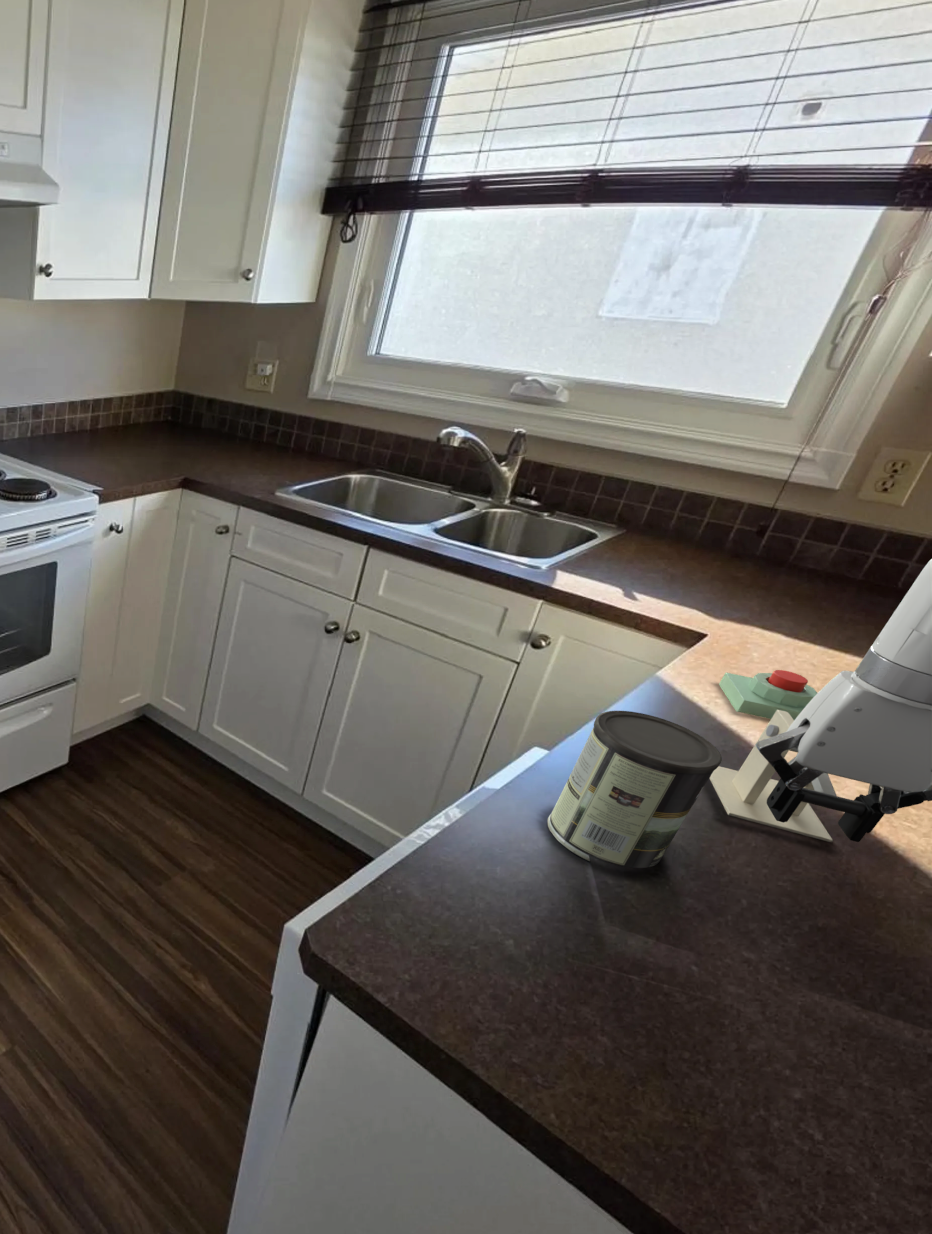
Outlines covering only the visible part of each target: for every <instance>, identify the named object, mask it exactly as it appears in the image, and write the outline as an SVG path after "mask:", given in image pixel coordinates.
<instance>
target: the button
mask: <svg viewBox="0 0 932 1234" xmlns="http://www.w3.org/2000/svg"><path fill="white" fill-rule="evenodd" d="M771 673H772V675H771V677H770V678H769V680H768V683H770V684H772V685H773V686H775V687H778V688H781V689H784V690H787V691H792V692H802V691H803V689H804V687H805V686H806V684H807V685H808V683H809V680H808V679H807V677H805V676H803V675H801V674H798V673H796V672H793V671H789V670H784V669H783V670H782V669H775V670H773V672H771Z"/></svg>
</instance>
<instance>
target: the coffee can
mask: <svg viewBox="0 0 932 1234" xmlns="http://www.w3.org/2000/svg"><path fill="white" fill-rule="evenodd" d="M722 760H723V757H722V754H721V752H720V751H719V749H717V747H716V746H715V745H714V744H712V742H710V741H709V740H707V739H706V738H704V737H703V736H701V734H698V733H697V732H694V731H693V730H691V729H689V728H687V727H685V726H682V725H680V724H678V723H675V722H672V721H671V720H667V719H666V718H665V719H664V718H661V717H658V716H654V715H651V714H647V713H642V712H637V711H630V710H607V711H603V712H601V713H599V714H598V715H597V716H596V718H595V719H594V721H593V727H592V729H591V731H590V733H589V736H588V738H587V740H586V741H585V744H584V746H583V748H582V750H581V752H580V754H579V756H578V757H577V760H576V761H575V764H574V766H573V768H572V770H571V773H570V774H569V777H568V779H567V780H566V783H565V785H564V787H563V788H562V791H561V793H560V795H559V797H558V799H557V801H556V803H555V805H554V807H553V809H552V810H551V813H550V814H549V816H548V817H547V827H548V830H549V832H551V834H552V836H553V837H554V838H555V839H556V840H557V841H558V842H559V843H560V844H561V845H562V846H563V847H565V848H566V849H567V850H568V851H570V852H572V853H573V854H575V855H576V856H577V857H580V858H582V859H584V860H586V861H588V862H591V858H590V856H591V857H593V858H597V859H599V860H601V861H604V862H606V863H610V864H612V865H615V866H619V867H620V866H621V867H624V868H625V867H627V868H632V869H633V868H634V869H645V868H651V867H654V866H656V865H657V864H658V863H660V862H661V860H662V858H663V857H664V855H665V853H666V852H667V850H668V849H669V846H670V845H671V843H672V841H673V840H674V838H675V836H676V835H677V833H678V831H679V830H680V827H681V826H682V824H683V823H684V821H685V819H686V818H687V816H688V814H689V812H690V811H691V809H692V808H693V806H694V804H695V803H696V801H697V800H698V798H699V796H700V795H701V793H702V791H703V789H704V788H705V786H706V784H707V783H708V781H709V780H710V776H711V775H712V773H713V771H714V770H715V769H717V767H718V766H720V765H721V764H722V762H723V761H722Z"/></svg>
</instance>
